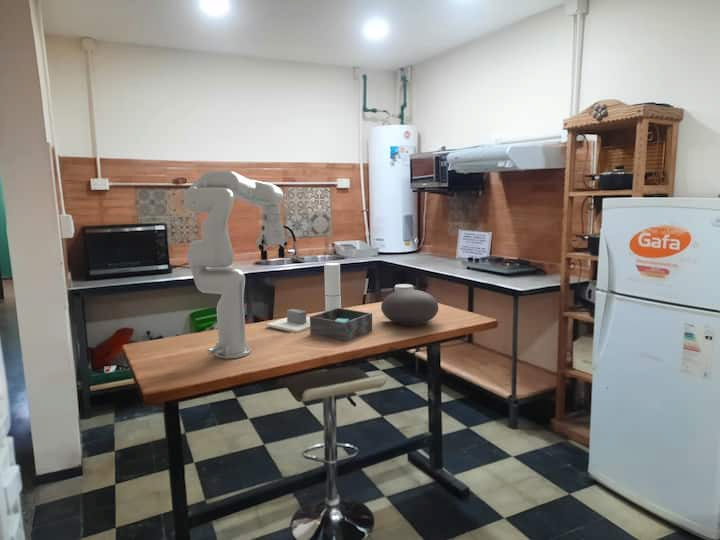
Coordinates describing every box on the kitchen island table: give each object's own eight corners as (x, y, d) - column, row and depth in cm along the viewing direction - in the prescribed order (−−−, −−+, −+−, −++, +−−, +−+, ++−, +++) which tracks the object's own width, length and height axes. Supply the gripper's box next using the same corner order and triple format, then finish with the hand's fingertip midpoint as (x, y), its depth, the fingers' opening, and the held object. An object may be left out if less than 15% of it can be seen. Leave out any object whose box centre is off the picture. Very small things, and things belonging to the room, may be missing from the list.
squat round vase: (405, 313, 232) (405, 282, 229) (449, 322, 214) (450, 289, 212) (369, 324, 214) (369, 290, 212) (414, 335, 197) (414, 299, 195)
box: (345, 343, 188) (345, 323, 186) (310, 335, 198) (309, 316, 197) (372, 332, 202) (372, 313, 201) (338, 325, 212) (337, 307, 211)
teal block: (345, 334, 197) (345, 322, 196) (333, 333, 198) (333, 321, 197) (349, 330, 202) (349, 319, 201) (337, 330, 203) (337, 318, 202)
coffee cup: (414, 311, 234) (414, 287, 232) (395, 312, 234) (395, 287, 232) (412, 307, 244) (412, 283, 242) (393, 307, 243) (393, 284, 242)
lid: (297, 335, 200) (297, 318, 199) (266, 328, 211) (265, 312, 210) (327, 325, 215) (326, 309, 214) (296, 319, 226) (295, 304, 225)
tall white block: (342, 315, 230) (340, 262, 226) (339, 319, 223) (338, 265, 219) (327, 315, 231) (325, 262, 227) (324, 319, 224) (322, 265, 220)
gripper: (261, 219, 197) (263, 261, 199) (292, 217, 210) (293, 257, 213) (249, 219, 202) (251, 260, 204) (280, 217, 215) (282, 256, 217)
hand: (273, 258), depth 208 cm, fingers open, 9 cm apart
